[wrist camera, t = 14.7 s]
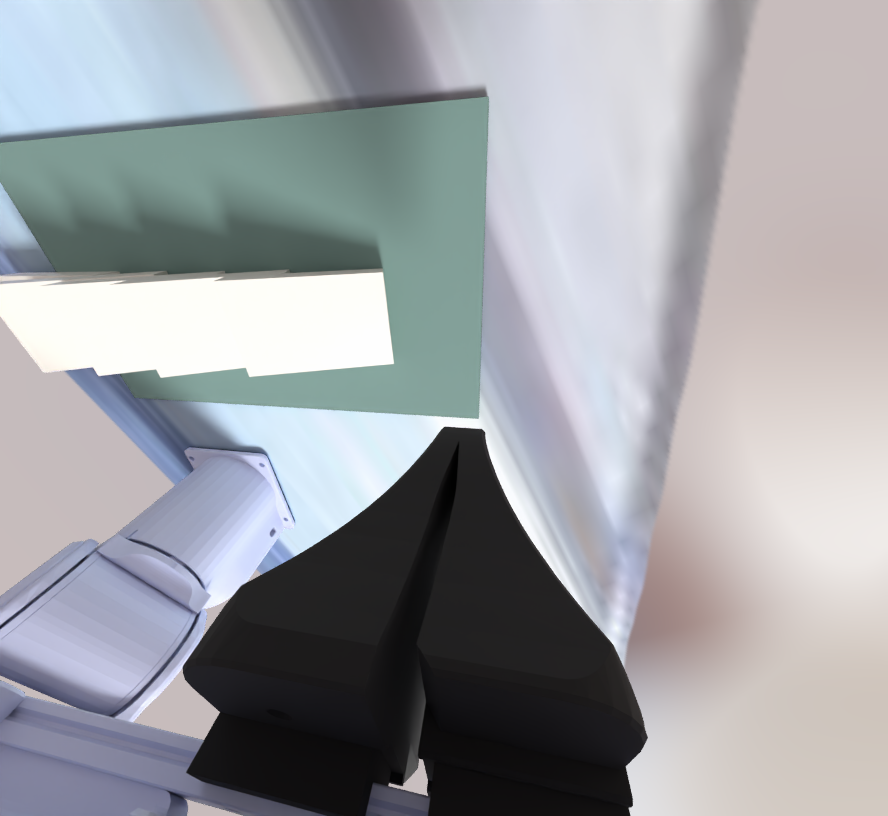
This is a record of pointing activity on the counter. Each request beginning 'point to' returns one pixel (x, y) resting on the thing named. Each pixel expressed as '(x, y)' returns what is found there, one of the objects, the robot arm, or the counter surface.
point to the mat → (288, 233)
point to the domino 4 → (308, 320)
